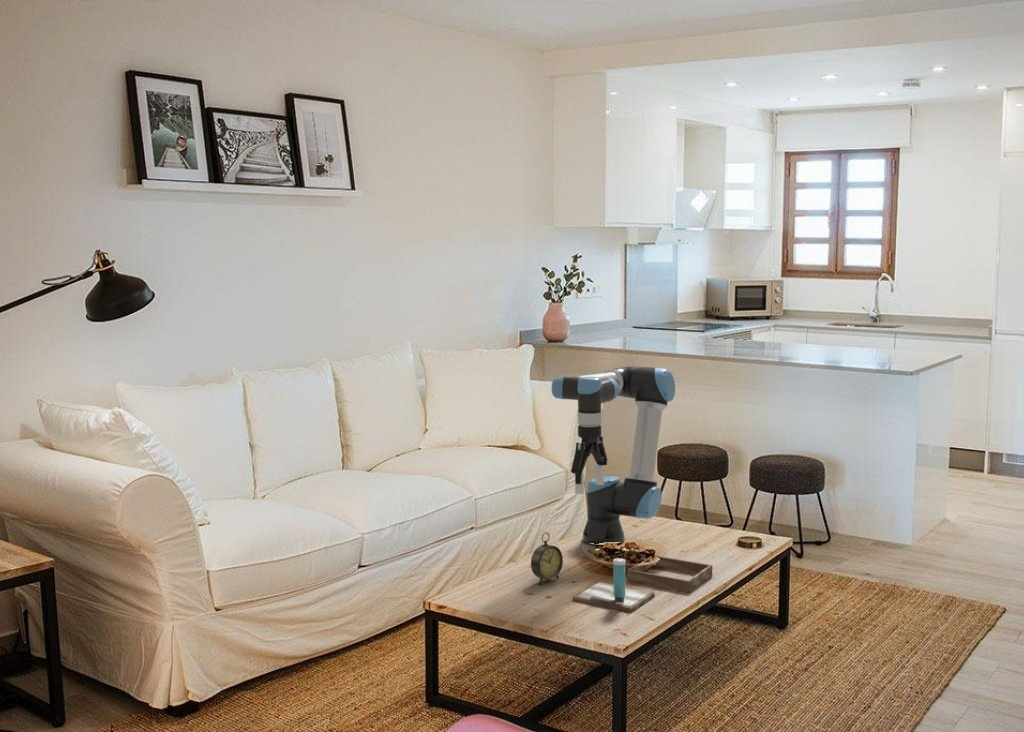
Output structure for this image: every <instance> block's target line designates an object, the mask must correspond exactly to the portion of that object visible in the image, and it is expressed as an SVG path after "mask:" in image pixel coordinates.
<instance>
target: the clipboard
mask: <svg viewBox="0 0 1024 732" xmlns="http://www.w3.org/2000/svg"><path fill="white" fill-rule="evenodd" d="M654 597H656V593H655V592H653V591H649V590H644V589H643V590H642V589H638V588H633V587H627V586H625V597H624V601H623V602H616V601H615V597H614V596H613V584H612V583H606V582H602V581H596V582H594V583H593V584H590V585H589V586H587V587H586V588H584V589H583V590H581V591H580V592H577V593H576V594H574V595H573V596H572V601H574V602H579V603H582V604H583V603H584V604H589V605H594V606H599V607H603V608H609V609H613V610H618V611H623V612H626V613H632V612H634V611H636V610H637V609H639V608H640V607H641V606H643V605H644V604H645V603H647V602H648V601H650V600H651V599H653V598H654Z"/></svg>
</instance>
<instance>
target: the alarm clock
mask: <svg viewBox="0 0 1024 732" xmlns="http://www.w3.org/2000/svg"><path fill="white" fill-rule="evenodd" d="M546 534H547V536H548V537H547V539H546V540H544V535H546ZM549 539H550V533H549V532H547V531H545V532H544V533H542V536H541V541H542V542H543V544H541V545H540V546H539V545H538V547H536V549H534V551H533V553H532V556H531V559H530V568H531V571H532V573H533V575H534V576H536V577H537V578H539V580H538V581H539V582H538V586H541V583H542V581H543V580H546V581H552V580H554V579H555V578H557V579H559V578H560V576H558V575H559V574H560V573H561V571H562V568H563V562H564V559H563V558H564V557H563V554H562V551H561V550H560V548H559V547H558V546H555V545H551V544H548V542H549Z"/></svg>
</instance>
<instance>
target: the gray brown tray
mask: <svg viewBox="0 0 1024 732" xmlns="http://www.w3.org/2000/svg"><path fill="white" fill-rule="evenodd" d="M656 557H658V558H660V560H659V561H658V562H657V563H656V565H655V566H654V567H657V568H664V569H669V570H675V571H680V572H686V573H691V574H695V575H694V576H692V577H691V578H689V579H688V580H687V579H684V578H683V579H682V578H677V577H671V576H666V575H659V574H655V573H648V572H645V571H647V570H649V569H650V568H651V567H638V565H636V564H635V565H633V566H631V567H630V568H628V569H627V570H626V581H627V582H631V583H632V582H633V583H637V584H644V585H648V586H654V587H659V588H665V589H669V590H673V591H674V590H675V591H679V592H680V591H681V592H684V593H685V592H686V593H691V592H692V591H693V590H695V589H696V588H697V587H699V586H700V585H702V584H703V583H704V582H706V581H707V580H708V579H709V578H712V576H713V564H707V563H701V562H696V561H691V560H685V559H680V558H679V559H678V558H674V557H673V558H672V557H667V556H660V555H656Z"/></svg>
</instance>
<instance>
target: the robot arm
mask: <svg viewBox="0 0 1024 732" xmlns="http://www.w3.org/2000/svg"><path fill="white" fill-rule="evenodd" d="M551 394H552V396H553V397H554V398H556V399H561V400H572V401H573V400H574V401H577V423H578V426H577V436H578V437H579V438H580V439H581V441H580V442H576V443H575V450H574V451H575V452H574V456H573V461H572V465H571V469H570V472H571V474H574V480H575V482H574V487H575V488H574V489H575V490H574V494H578V495H584V494H585V485H584V484H585V479H584V478H585V475H584V473H583V472H584V469H585V466H586V463H587V461H588V458H589V457H590V455H591V454H592V457H593V458H594V461H595V462H596V464H595V468H594V469H595V470H594V471H595V478H593V479H590V480H588V482H587V489H586V490H587V491H586V495H587V501H586V502H587V503H586V504H587V505H586V506H587V507H586V508H587V518H586V519H587V520H586V523H585V526H584V528H583V529H584V530H583V532H582V541H583V542H584V543H585V542H587V543H586V544H588V543H594V544H599V543H604V542H623V543H624V542H625V533H624V529H623V526H622V523H621V520H620V519H621V518H620V516H624V517H631V518H637V519H652V518H653V517H654V516H656V514H657V513H658V512H659V508H660V505H661V501H662V498H663V497H662V495H663V494H662V489H661V488H660V487H659V486H658V481H657V480H656V478H655V477H654V476H655V468H656V461H657V453H658V445H659V440H660V439H659V437H660V432H661V431H660V430H661V423H662V422H661V421H662V413H663V411H664V410H665V409H666V408H667V407H668V402H672V401H673V400H674V398H675V395H676V381H675V378H674V375H673V373H672V372H671V371H670V369H668V368H662V367H650V366H645V367H644V366H632V365H631V366H623V367H622V366H621V367H617V368H616V367H615V368H611V369H610V368H609V369H606V370H604V372H601V373H592V374H585V375H578V376H577V375H576V376H564V375H563V376H556V377H555V378H554V379H553V380H552V382H551ZM617 397H622V398H623V397H624V398H628V399H634V403H635V405H636V407H637V408H638V409H637V417H636V423H635V430H634V431H635V432H634V438H633V445H632V453H631V460H630V468H629V473H628V474H627V475H626V476H625V477H624V479H623V480H624V481H623V482H621V478H620V477H619V476H617V475H615V476H614V475H613V476H611V475H610V476H609V475H608V476H605V473H604V472H605V468H604V467H605V466H607V465H608V456H607V452H606V449H605V446H604V445H605V444H604V437H603V436H602V426H601V424H602V404H604V403H607V402H608V403H609V402H611V401H614V400H615V399H616V398H617Z"/></svg>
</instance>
